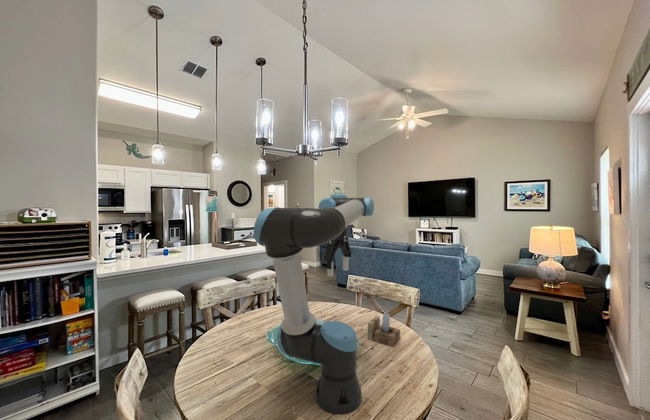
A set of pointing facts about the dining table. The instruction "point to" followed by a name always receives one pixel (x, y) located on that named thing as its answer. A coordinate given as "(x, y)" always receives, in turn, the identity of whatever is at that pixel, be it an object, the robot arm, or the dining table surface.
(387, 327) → the dowel
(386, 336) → the block
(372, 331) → the jig
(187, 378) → the dining table surface
